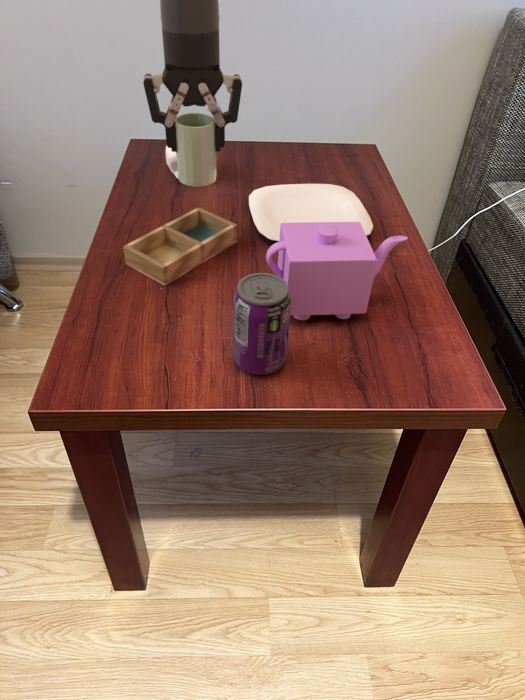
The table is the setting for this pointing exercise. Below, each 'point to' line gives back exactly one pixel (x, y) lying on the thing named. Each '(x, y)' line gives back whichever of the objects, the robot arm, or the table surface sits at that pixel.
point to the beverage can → (261, 323)
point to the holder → (180, 245)
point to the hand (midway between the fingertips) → (196, 149)
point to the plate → (305, 207)
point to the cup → (196, 149)
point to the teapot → (328, 267)
